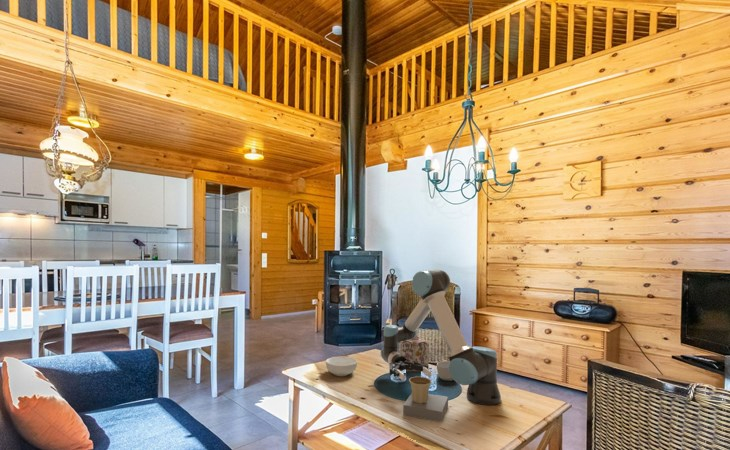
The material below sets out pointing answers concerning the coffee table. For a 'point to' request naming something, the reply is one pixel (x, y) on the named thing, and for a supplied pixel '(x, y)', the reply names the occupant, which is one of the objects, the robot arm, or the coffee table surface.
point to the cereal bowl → (341, 365)
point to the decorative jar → (415, 350)
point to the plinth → (427, 407)
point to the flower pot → (420, 389)
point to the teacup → (444, 370)
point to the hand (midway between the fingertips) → (417, 375)
